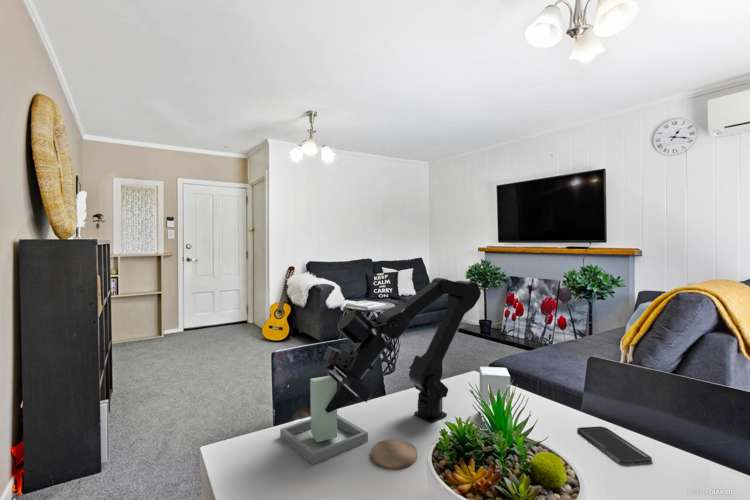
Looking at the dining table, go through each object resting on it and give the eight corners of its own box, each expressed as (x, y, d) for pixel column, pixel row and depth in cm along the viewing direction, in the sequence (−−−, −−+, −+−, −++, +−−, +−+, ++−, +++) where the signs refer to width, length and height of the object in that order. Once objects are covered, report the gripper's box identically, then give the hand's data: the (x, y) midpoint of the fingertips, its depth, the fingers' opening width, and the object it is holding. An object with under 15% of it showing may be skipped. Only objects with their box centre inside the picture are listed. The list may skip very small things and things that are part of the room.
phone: (604, 426, 95) (654, 459, 80) (603, 430, 95) (654, 464, 80) (574, 427, 94) (620, 461, 79) (574, 432, 94) (620, 467, 79)
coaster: (395, 439, 90) (395, 434, 90) (426, 456, 82) (426, 452, 82) (362, 454, 84) (362, 449, 84) (393, 474, 76) (393, 469, 76)
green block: (330, 428, 93) (330, 375, 93) (337, 437, 89) (336, 382, 89) (310, 432, 91) (310, 378, 91) (316, 442, 87) (316, 385, 87)
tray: (332, 419, 101) (332, 411, 101) (367, 441, 89) (367, 432, 89) (280, 437, 91) (280, 429, 91) (312, 464, 79) (312, 455, 79)
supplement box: (511, 425, 97) (511, 376, 97) (481, 422, 98) (481, 374, 98) (506, 413, 104) (506, 367, 104) (479, 410, 106) (479, 365, 106)
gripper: (331, 327, 100) (290, 375, 96) (358, 343, 84) (310, 402, 79) (358, 353, 104) (320, 400, 99) (390, 373, 87) (345, 431, 82)
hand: (323, 407), depth 90 cm, fingers closed on green block, 5 cm apart
